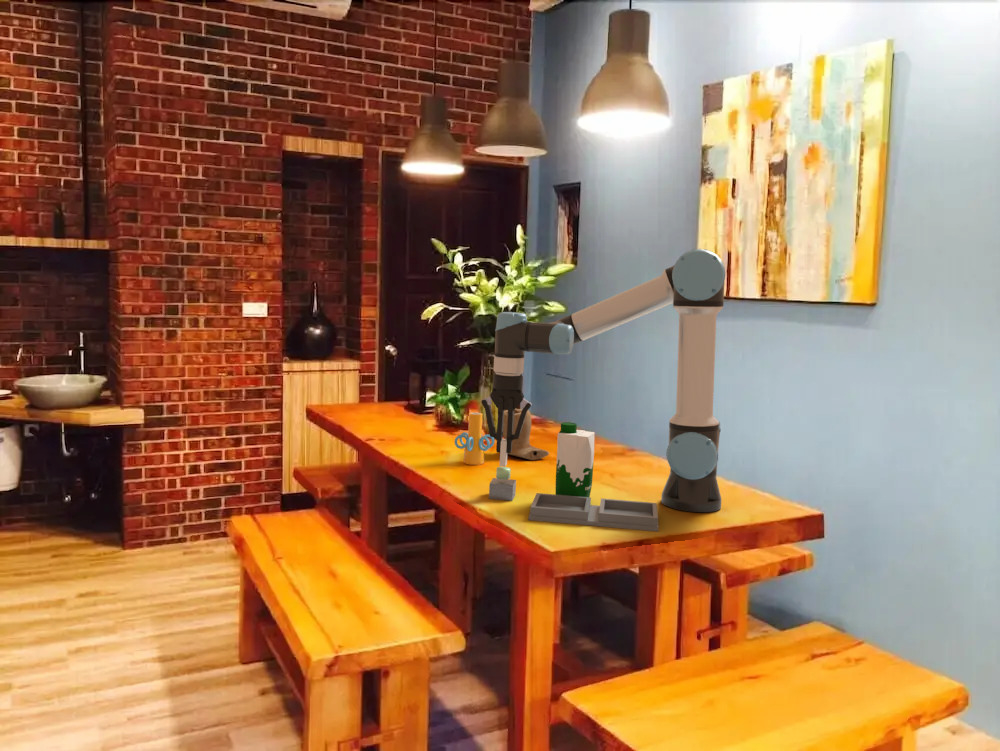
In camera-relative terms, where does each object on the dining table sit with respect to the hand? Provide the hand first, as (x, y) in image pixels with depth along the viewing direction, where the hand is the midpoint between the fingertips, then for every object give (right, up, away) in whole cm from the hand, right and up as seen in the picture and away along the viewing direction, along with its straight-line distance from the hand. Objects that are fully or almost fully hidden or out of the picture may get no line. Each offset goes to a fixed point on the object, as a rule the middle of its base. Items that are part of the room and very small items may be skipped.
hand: (503, 465), depth 225 cm
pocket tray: (+22, -11, -14) cm, 28 cm away
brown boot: (+5, -3, +50) cm, 51 cm away
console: (0, -8, +1) cm, 8 cm away
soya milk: (+18, -10, -1) cm, 20 cm away
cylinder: (-9, -3, +38) cm, 39 cm away
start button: (0, -3, 0) cm, 3 cm away
